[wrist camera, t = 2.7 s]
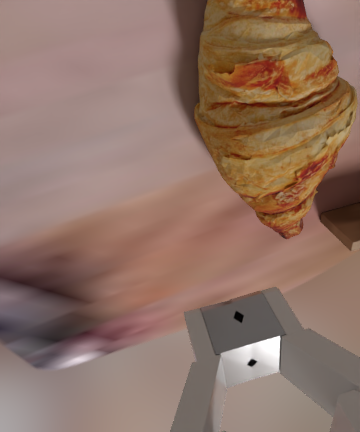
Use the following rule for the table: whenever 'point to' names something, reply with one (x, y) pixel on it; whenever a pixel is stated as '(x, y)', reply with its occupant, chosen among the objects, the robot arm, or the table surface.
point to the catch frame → (344, 225)
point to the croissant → (271, 106)
